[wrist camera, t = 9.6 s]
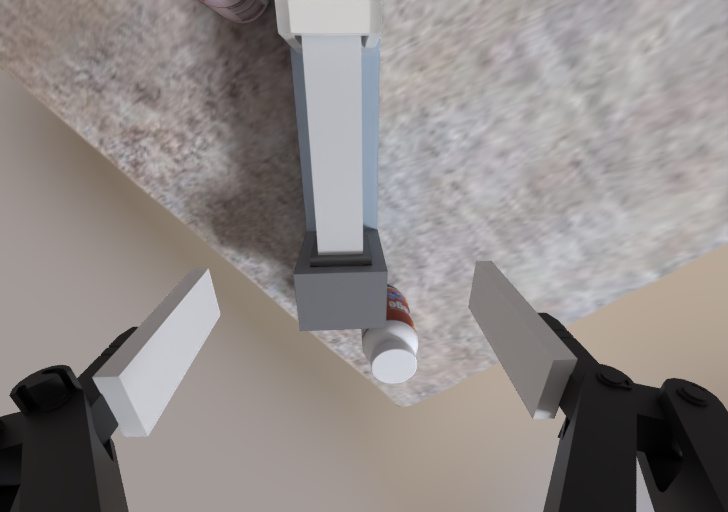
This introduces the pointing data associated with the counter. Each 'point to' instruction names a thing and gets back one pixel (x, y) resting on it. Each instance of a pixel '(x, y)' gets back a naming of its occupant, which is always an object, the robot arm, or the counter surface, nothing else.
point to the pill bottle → (392, 342)
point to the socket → (341, 291)
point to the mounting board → (368, 136)
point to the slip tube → (336, 148)
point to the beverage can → (238, 9)
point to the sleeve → (330, 20)
